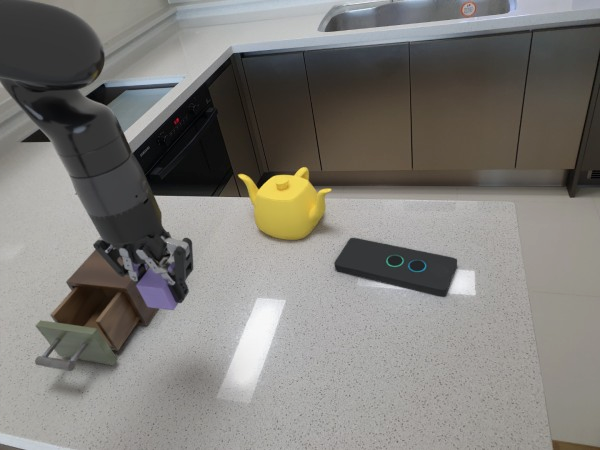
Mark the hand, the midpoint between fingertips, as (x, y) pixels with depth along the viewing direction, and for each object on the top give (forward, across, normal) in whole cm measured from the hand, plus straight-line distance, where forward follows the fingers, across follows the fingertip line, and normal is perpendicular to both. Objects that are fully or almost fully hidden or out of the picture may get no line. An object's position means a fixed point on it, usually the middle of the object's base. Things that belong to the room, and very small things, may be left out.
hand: (167, 296), depth 63 cm
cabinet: (+15, -20, +12) cm, 28 cm away
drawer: (+14, -20, +1) cm, 24 cm away
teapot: (+15, +4, +37) cm, 41 cm away
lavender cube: (0, 0, 0) cm, 0 cm away
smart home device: (+15, +27, +25) cm, 40 cm away
